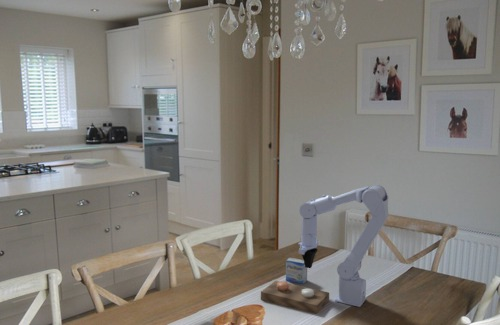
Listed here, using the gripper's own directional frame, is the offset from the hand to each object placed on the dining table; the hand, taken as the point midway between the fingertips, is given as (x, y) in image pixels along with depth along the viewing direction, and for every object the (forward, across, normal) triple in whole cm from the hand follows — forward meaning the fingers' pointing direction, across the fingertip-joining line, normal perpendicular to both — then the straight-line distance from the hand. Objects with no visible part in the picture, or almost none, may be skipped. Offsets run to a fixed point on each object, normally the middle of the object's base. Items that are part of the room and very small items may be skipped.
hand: (308, 267), depth 167 cm
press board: (+9, +10, -1) cm, 14 cm away
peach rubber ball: (+8, +10, -6) cm, 14 cm away
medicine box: (+10, -7, -8) cm, 14 cm away
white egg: (+9, +10, +4) cm, 14 cm away
